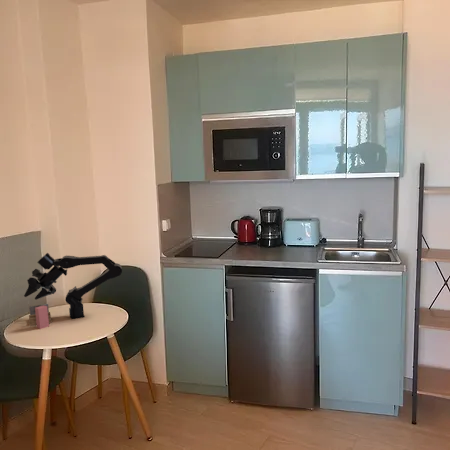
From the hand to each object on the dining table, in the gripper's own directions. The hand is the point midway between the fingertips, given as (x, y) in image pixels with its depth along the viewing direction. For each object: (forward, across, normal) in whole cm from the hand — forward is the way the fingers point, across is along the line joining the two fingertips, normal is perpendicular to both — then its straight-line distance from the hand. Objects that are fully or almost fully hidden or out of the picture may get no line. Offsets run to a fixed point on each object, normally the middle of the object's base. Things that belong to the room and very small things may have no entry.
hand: (30, 297), depth 236 cm
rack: (+5, -6, +10) cm, 13 cm away
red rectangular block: (+3, +1, +17) cm, 18 cm away
